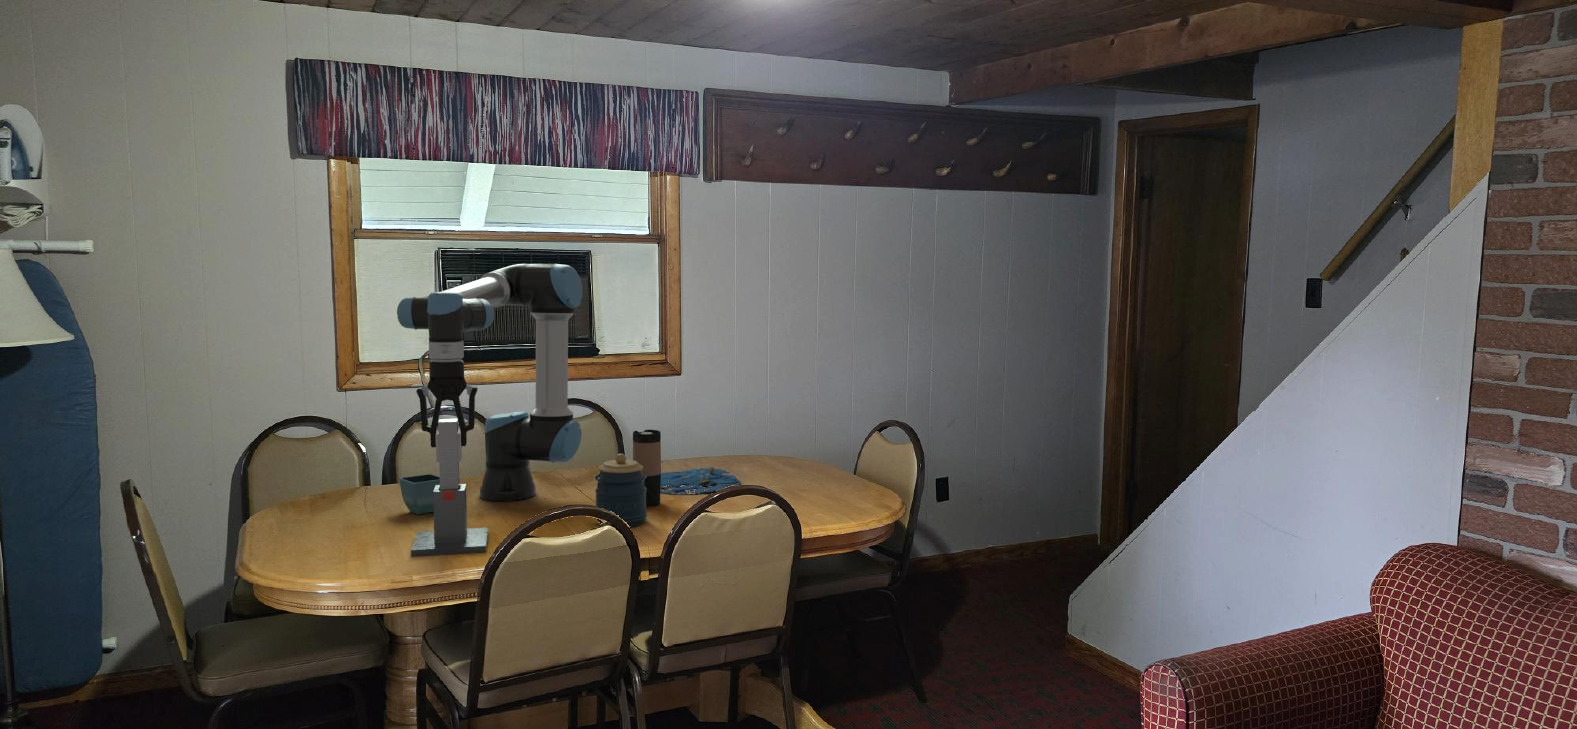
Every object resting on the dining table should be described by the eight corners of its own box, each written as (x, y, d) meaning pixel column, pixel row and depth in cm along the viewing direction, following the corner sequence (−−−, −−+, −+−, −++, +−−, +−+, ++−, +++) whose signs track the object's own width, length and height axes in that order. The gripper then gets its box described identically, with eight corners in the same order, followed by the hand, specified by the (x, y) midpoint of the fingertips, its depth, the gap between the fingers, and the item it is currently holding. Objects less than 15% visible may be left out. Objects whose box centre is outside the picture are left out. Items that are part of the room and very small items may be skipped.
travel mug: (655, 508, 272) (655, 434, 270) (628, 506, 274) (628, 433, 272) (664, 501, 280) (664, 430, 278) (638, 500, 281) (638, 428, 279)
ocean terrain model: (706, 506, 282) (706, 488, 281) (621, 491, 297) (621, 474, 296) (762, 482, 307) (762, 465, 307) (681, 469, 322) (681, 453, 321)
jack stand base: (411, 556, 227) (409, 497, 226) (418, 537, 242) (416, 481, 241) (485, 552, 231) (484, 494, 230) (488, 533, 246) (487, 478, 245)
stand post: (440, 521, 234) (438, 422, 231) (442, 516, 238) (439, 419, 235) (459, 520, 235) (456, 421, 232) (460, 515, 239) (457, 418, 236)
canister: (601, 515, 265) (600, 448, 263) (650, 516, 265) (650, 449, 263) (590, 528, 252) (589, 458, 250) (642, 529, 252) (641, 459, 250)
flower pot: (431, 505, 273) (430, 473, 272) (446, 512, 266) (446, 478, 265) (399, 511, 267) (398, 477, 266) (414, 517, 260) (413, 483, 259)
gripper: (404, 362, 226) (408, 465, 229) (485, 361, 231) (487, 462, 233) (408, 358, 234) (411, 458, 236) (486, 357, 238) (488, 456, 240)
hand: (449, 460), depth 235 cm, fingers closed on stand post, 4 cm apart
